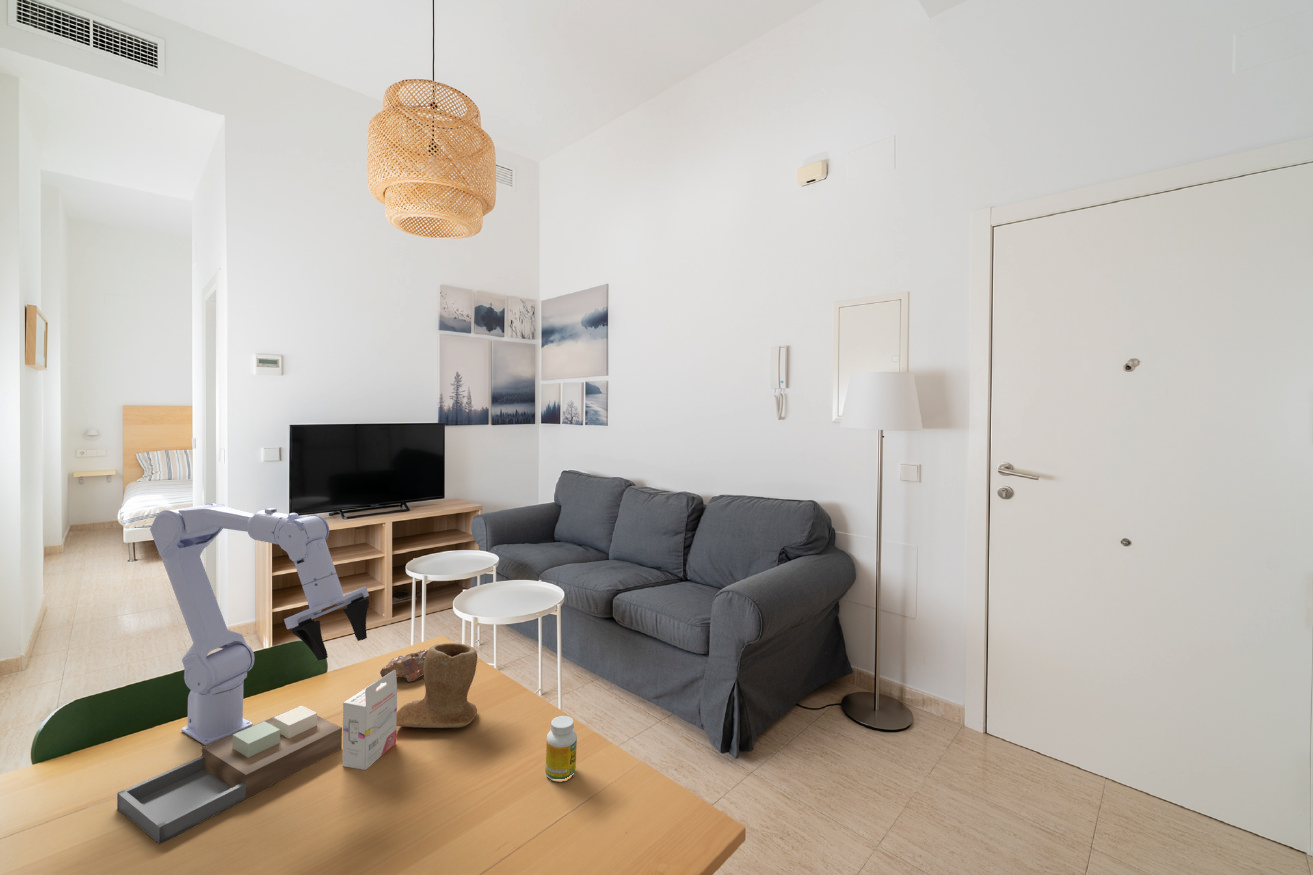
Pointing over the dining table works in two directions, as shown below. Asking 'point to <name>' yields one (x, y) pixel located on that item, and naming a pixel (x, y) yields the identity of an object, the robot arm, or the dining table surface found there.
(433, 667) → the brown hollow boot figurine
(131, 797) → the tray
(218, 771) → the walnut board
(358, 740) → the ink cartridge box
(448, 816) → the dining table surface
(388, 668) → the mineral specimen
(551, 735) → the supplement bottle
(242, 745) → the sage tile
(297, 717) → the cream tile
